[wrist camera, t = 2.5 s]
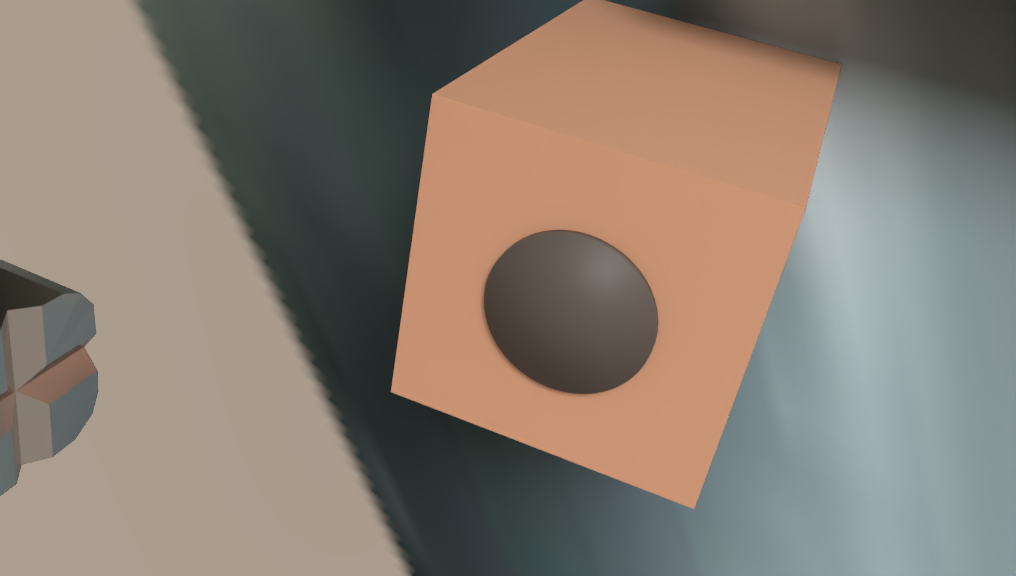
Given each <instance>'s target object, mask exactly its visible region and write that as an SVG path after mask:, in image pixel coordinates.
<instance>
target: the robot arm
mask: <svg viewBox="0 0 1016 576" xmlns="http://www.w3.org/2000/svg"><path fill="white" fill-rule="evenodd" d="M95 334H96V327H95V316H94V305H93V304H92V303H91V302H90V301H89V300H88V299H87V298H85V297H84V296H83V295H82V294H81V293H79V292H76V291H74V290H72V289H69V288H67V287H65V286H62V285H60V284H58V283H55V282H53V281H50V280H48V279H46V278H43V277H41V276H38V275H36V274H34V273H31V272H29V271H27V270H24V269H22V268H19V267H17V266H15V265H13V264H10V263H7V262H5V261H3V260H0V496H1V495H2V494H3V493H5V492H6V491H8V490H9V489H10V488H12V487H13V486H14V485H16V484H17V480H18V476H19V472H20V469H21V465H22V464H26V463H30V462H33V461H38V460H42V459H46V458H50V457H53V456H54V455H56V454H57V453H58V452H59V451H61V450H62V449H63V448H65V447H66V446H67V445H68V444H70V443H71V442H72V441H74V440H75V439H76V437H77V436H78V434H79V433H80V431H81V430H82V428H83V427H84V425H85V424H86V422H87V421H88V419H89V418H90V416H91V415H92V413H93V409H94V405H95V402H96V398H97V394H98V371H97V369H96V367H95V366H94V364H93V362H92V360H91V358H90V357H89V355H88V353H87V351H86V349H85V348H84V346H85V345H86V344H87V343H88V342H89V341H90V340H91V339H92V338H93V337H94V335H95Z"/></svg>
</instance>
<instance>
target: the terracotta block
mask: <svg viewBox="0 0 1016 576" xmlns="http://www.w3.org/2000/svg"><path fill="white" fill-rule="evenodd" d="M841 65H842V64H839V63H835V62H832V61H828V60H824V59H820V58H817V57H813V56H809V55H806V54H802V53H798V52H794V51H791V50H787V49H783V48H780V47H776V46H772V45H768V44H765V43H761V42H757V41H754V40H750V39H746V38H742V37H739V36H735V35H731V34H728V33H724V32H720V31H716V30H713V29H709V28H705V27H702V26H698V25H694V24H690V23H687V22H683V21H679V20H676V19H672V18H668V17H664V16H661V15H657V14H653V13H649V12H646V11H642V10H638V9H635V8H631V7H627V6H623V5H620V4H616V3H612V2H609V1H605V0H583V1H581V2H580V3H578V4H577V5H575V6H573V7H572V8H570V9H568V10H567V11H565V12H564V13H562V14H560V15H559V16H557V17H556V18H554V19H552V20H551V21H549V22H548V23H546V24H544V25H543V26H541V27H539V28H538V29H536V30H535V31H533V32H531V33H530V34H528V35H527V36H525V37H523V38H522V39H520V40H519V41H517V42H515V43H514V44H512V45H510V46H509V47H507V48H506V49H504V50H502V51H501V52H499V53H498V54H496V55H494V56H493V57H491V58H490V59H488V60H486V61H485V62H483V63H482V64H480V65H478V66H477V67H475V68H473V69H472V70H470V71H469V72H467V73H465V74H464V75H462V76H461V77H459V78H457V79H456V80H454V81H453V82H451V83H449V84H448V85H446V86H444V87H443V88H441V89H440V90H438V91H436V92H435V93H433V94H432V100H431V107H430V115H429V122H428V129H427V136H426V143H425V150H424V158H423V165H422V172H421V179H420V186H419V194H418V201H417V208H416V215H415V222H414V230H413V237H412V244H411V251H410V258H409V265H408V273H407V280H406V287H405V294H404V301H403V309H402V316H401V323H400V330H399V337H398V345H397V352H396V359H395V366H394V373H393V380H392V388H391V392H392V393H395V394H397V395H400V396H403V397H405V398H408V399H410V400H413V401H416V402H418V403H421V404H423V405H426V406H428V407H431V408H434V409H436V410H439V411H441V412H444V413H447V414H449V415H452V416H454V417H457V418H460V419H462V420H465V421H467V422H470V423H473V424H475V425H478V426H480V427H483V428H486V429H488V430H491V431H493V432H496V433H498V434H501V435H504V436H506V437H509V438H511V439H514V440H517V441H519V442H522V443H524V444H527V445H530V446H532V447H535V448H537V449H540V450H543V451H545V452H548V453H550V454H553V455H555V456H558V457H561V458H563V459H566V460H568V461H571V462H574V463H576V464H579V465H581V466H584V467H587V468H589V469H592V470H594V471H597V472H600V473H602V474H605V475H607V476H610V477H612V478H615V479H618V480H620V481H623V482H625V483H628V484H631V485H633V486H636V487H638V488H641V489H644V490H646V491H649V492H651V493H654V494H657V495H659V496H662V497H664V498H667V499H670V500H672V501H675V502H677V503H680V504H682V505H685V506H688V507H690V508H693V509H694V507H695V505H696V502H697V499H698V497H699V494H700V491H701V489H702V486H703V483H704V480H705V478H706V475H707V472H708V470H709V467H710V464H711V462H712V459H713V456H714V454H715V451H716V448H717V446H718V443H719V440H720V438H721V435H722V432H723V429H724V427H725V424H726V421H727V419H728V416H729V413H730V411H731V408H732V405H733V403H734V400H735V397H736V395H737V392H738V389H739V387H740V384H741V381H742V378H743V376H744V373H745V370H746V368H747V365H748V362H749V360H750V357H751V354H752V352H753V349H754V346H755V344H756V341H757V338H758V336H759V333H760V330H761V327H762V325H763V322H764V319H765V317H766V314H767V311H768V309H769V306H770V303H771V301H772V298H773V295H774V293H775V290H776V287H777V285H778V282H779V279H780V276H781V274H782V271H783V268H784V266H785V263H786V260H787V258H788V255H789V252H790V250H791V247H792V244H793V242H794V239H795V236H796V234H797V231H798V228H799V225H800V223H801V220H802V217H803V215H804V212H805V209H806V206H807V202H808V198H809V194H810V190H811V186H812V182H813V178H814V174H815V170H816V166H817V162H818V158H819V154H820V150H821V146H822V142H823V138H824V134H825V130H826V126H827V122H828V117H829V113H830V109H831V105H832V101H833V97H834V93H835V89H836V85H837V81H838V77H839V73H840V69H841Z"/></svg>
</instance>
